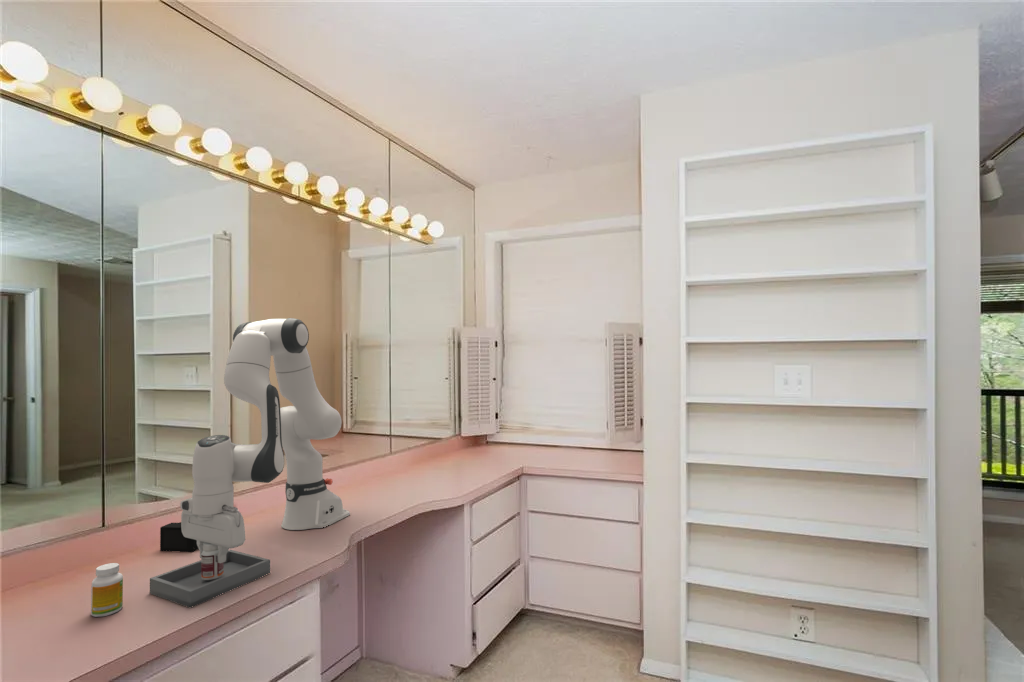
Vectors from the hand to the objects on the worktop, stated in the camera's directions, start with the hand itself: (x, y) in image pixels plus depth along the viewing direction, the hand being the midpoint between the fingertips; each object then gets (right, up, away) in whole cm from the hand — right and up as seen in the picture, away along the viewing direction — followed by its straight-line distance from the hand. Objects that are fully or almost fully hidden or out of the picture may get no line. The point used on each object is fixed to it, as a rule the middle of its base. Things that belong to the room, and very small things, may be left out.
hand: (212, 560), depth 125 cm
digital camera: (-23, -7, +24) cm, 33 cm away
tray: (0, -6, 0) cm, 6 cm away
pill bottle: (0, -4, 0) cm, 4 cm away
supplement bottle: (-15, -5, -14) cm, 21 cm away
